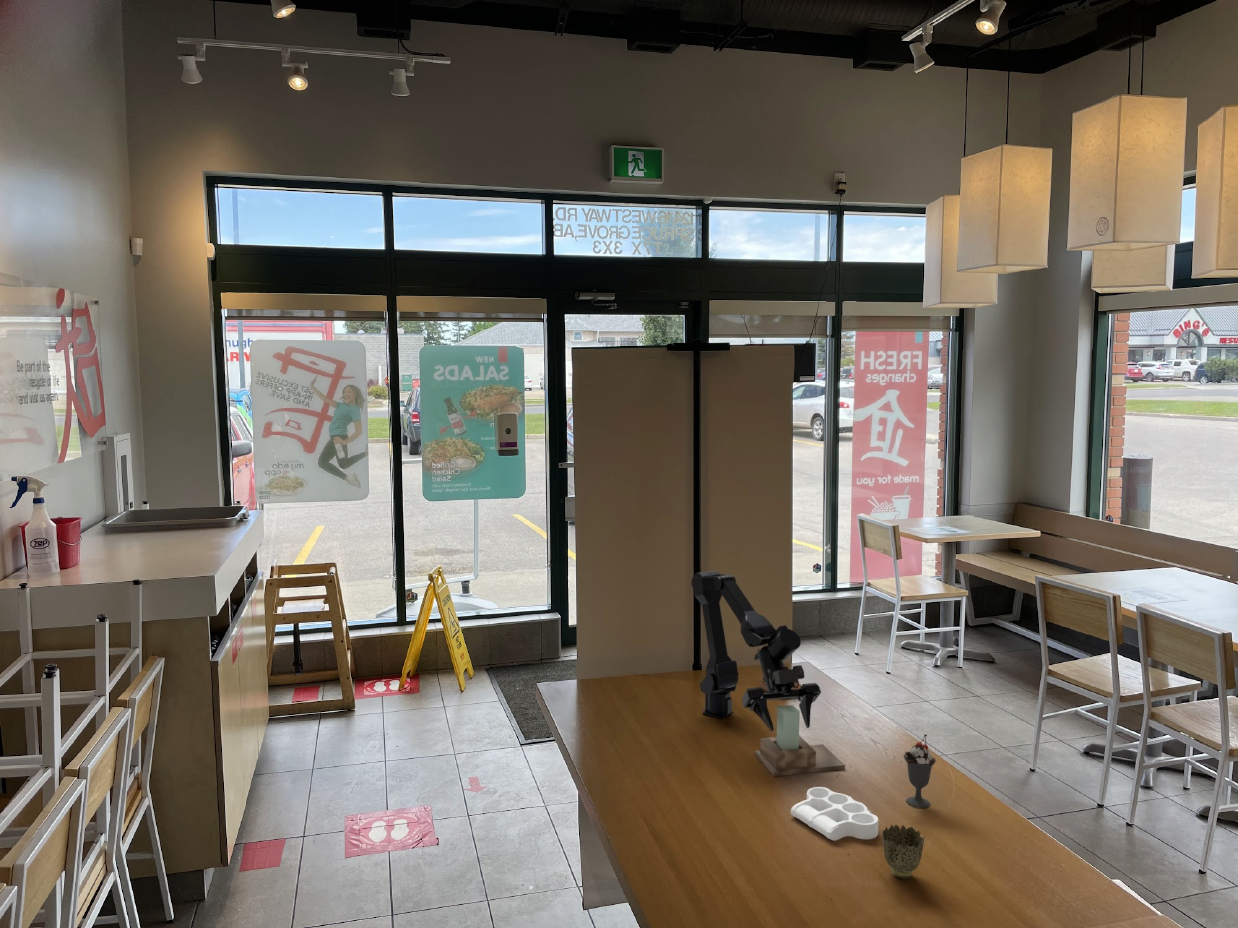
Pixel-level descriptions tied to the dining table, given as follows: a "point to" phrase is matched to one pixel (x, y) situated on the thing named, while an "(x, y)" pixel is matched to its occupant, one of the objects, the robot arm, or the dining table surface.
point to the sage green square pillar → (787, 727)
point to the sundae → (919, 772)
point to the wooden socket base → (796, 758)
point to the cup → (902, 850)
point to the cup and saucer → (797, 686)
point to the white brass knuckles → (836, 815)
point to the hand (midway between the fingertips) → (790, 728)
